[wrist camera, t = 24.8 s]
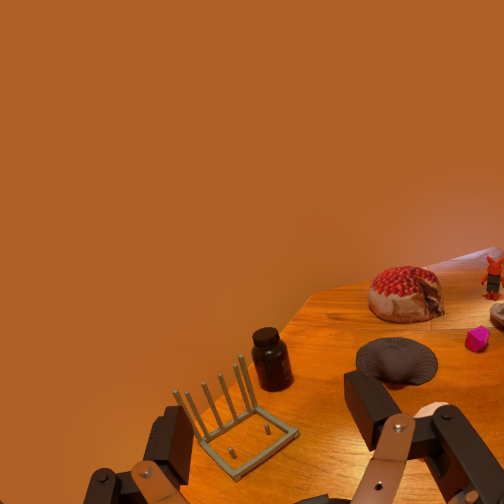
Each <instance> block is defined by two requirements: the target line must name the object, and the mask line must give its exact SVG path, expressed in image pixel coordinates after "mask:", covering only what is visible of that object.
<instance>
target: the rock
mask: <svg viewBox="0 0 504 504" xmlns="http://www.w3.org/2000/svg"><path fill="white" fill-rule="evenodd" d="M490 314H491V316H492V317H493V318H494V319H496V320H497V321H498V323H499V324H501V325H503V326H504V303H503V304H501V303H497V304H494V305H493V306H492V307H491V309H490Z"/></svg>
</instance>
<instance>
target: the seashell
mask: <svg viewBox="0 0 504 504" xmlns="http://www.w3.org/2000/svg"><path fill="white" fill-rule="evenodd" d="M356 366H357V369H359V370H360V371H361V372H362V374H363V375H364V376H365V377H368V376H373V377H375V378H377V379H378V380H380V381H387V382H391V383H394V384H397V383H400V384H407V385H420V384H423V383H425V382H427V381H429V380H431V379H432V378H433V377H434V375H435V374H436V372H437V369H438V362H437V358H436V356H435V354H434V353H433V352H432V351H431V350H430V349H429V348H428V347H426V346H425V345H422V344H420V343H418V342H416V341H413V340H411V339H407V338H401V337H400V338H399V337H396V338H395V337H392V338H390V337H389V338H381V339H376V340H374V341H371V342H369V343H367V344H366V345H364V346H363V347H361V348H360V349H359V350H358V352H357V357H356Z"/></svg>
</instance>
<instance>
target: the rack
mask: <svg viewBox="0 0 504 504" xmlns="http://www.w3.org/2000/svg"><path fill="white" fill-rule="evenodd" d="M238 359H239V362H240V366H241V369H242V373H243V376H244V379H245V383H246V386H247V389H248V393H249V396H250V399H251V403H252V406H253V407H251V408H250V405H249V401H248V398H247V395H246V392H245V389H244V385H243V382H242V379H241V376H240V372H239V369H238V366H237V364H234V365H233V368H234V371H235V374H236V377H237V380H238V384H239V387H240V390H241V393H242V396H243V399H244V402H245V405H246V408H247V411H245V412H244V413H242V414H241V415H239V416H238V417H237V415H236V412H235V409H234V407H233V404H232V401H231V399H230V396H229V393H228V390H227V387H226V385H225V382H224V379H223V376H222V374H221V373H219V374H218V378H219V381H220V384H221V386H222V389H223V391H224V395H225V397H226V400H227V403H228V405H229V408H230V410H231V413H232V416H233V418H234V419H233V420H231V421H230V422H228V423H226V424H225V425H223V424H222V421H221V419H220V417H219V414H218V412H217V410H216V407H215V405H214V402H213V400H212V398H211V395H210V393H209V390H208V388H207V385H206V383H205V382H202V383H201V384H202V387H203V390H204V392H205V395H206V397H207V399H208V402H209V404H210V406H211V409H212V411H213V413H214V416H215V418H216V420H217V422H218V425H219V427H220V428H218V429H217V430H215V431H213V432H211V433H210V434H209V433H208V431H207V429H206V427H205V425H204V423H203V421H202V419H201V417H200V415H199V413H198V411H197V409H196V406H195V404H194V402H193V400H192V398H191V396H190V393H189V391H185V396H186V398H187V400H188V402H189V404H190V406H191V408H192V410H193V412H194V414H195V416H196V419H197V421H198V423H199V425H200V427H201V428H202V430H203V432H204V434H205V437H203V438H202V437H201V435H200V434H199V432H198V430H197V428H196V426H195V424H194V422H193V420H192V418H191V416H190V414H189V412H188V411H187V408H186V406H185V404H184V402H183V400H182V398H181V396H180V394H179V392H178V390H176V389H175V390H173V391H172V393H173V395H174V397H175V399H176V401H177V403H178V405H179V406H182V407H183V408H184V410H185V412H186V414H187V416H188V418H189V420H190V422H191V424H192V427H193V431H194V435H195V437H196V439H197V442H198V444H199V445H200V446H201V447H202V448H203V449H204V450H205V451H206V452H207V453H208V455H209V456H210V457H211V458H212V459H213V460H214V461H215V462H216V463H217V464H218V465H219V466H220V467H221V468H222V469H223V470H224V471H225V472H226V473H227V474H228V475H229V476H230V477H231V478H232V479H233V480H235V481H236V482H237V481H239V480H241V477H240V476H242V475H243V474H245V473H247V472H248V471H249V470H251V469H252V468H254V467H255V466H257V465H258V464H260V463H261V462H262V461H264V460H265V459H267V458H268V457H269V456H271V455H272V454H273V453H275V452H276V451H277V450H279V449H280V448H281V447H283V446H284V445H285V444H286V443H288V442H289V441H290V440H291V439H293V438H298V437H299V436H300V432H299V429H298V428H296V427H295V428H292V427H291V426H289V425H287V424H286V423H284V422H282V421H281V420H279V419H278V418H276V417H275V416H273V415H271V414H270V413H268V412H267V411H265V410H264V409H262V408H261V407H259V406H258V405H257V402H256V398H255V395H254V391H253V388H252V384H251V381H250V377H249V374H248V370H247V367H246V363H245V360H244V356H243V354H240V355H238ZM255 412H256V413H257V414H259V415H260V416H262V417H263V418H265V419H266V420H268V421H269V422H271V423H272V424H274V425H275V426H277V427H278V428H280V429H281V430H283V431H284V432H286V433H287V434H286V435H285V436H283V437H282V438H281V439H279V440H278V441H277V442H275V443H274V444H273V445H271V446H270V447H269V448H267V449H266V450H265V451H263V452H262V453H260V454H259V455H258V456H256V457H255V458H253V459H252V460H250V461H249V462H247V463H246V464H244V465H243V466H241V467H240V468H238V469H237V470H235V471H234V470H233V469H232V468H231V467H230V466H229V465H228V464H227V463H226V462H225V461H224V460H223V459H222V458H221V457H220V456H219V455H218V454H217V453H216V452H215V451H214V450H213V449H212V448H211V447H210V446H209V445H208V444H207V443H208V442H209V441H211V440H213V439H214V438H216V437H218V436H219V435H221V434H223V433H224V432H226V431H228V430H229V429H231V428H232V427H234V426H236V425H237V424H239V423H240V422H242V421H243V420H245V419H246V418H248V417H249V416H251V415H252V414H254V413H255ZM264 427H265V430H266V433H267V434H268V435H269V434H270V433H271V432H270V428H269V425H268V423H265V424H264ZM228 450H229V452H230V454H231V456H232V458H236V454H235V452H234V450H233V448H232V447H229V448H228Z"/></svg>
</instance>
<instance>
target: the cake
mask: <svg viewBox="0 0 504 504" xmlns="http://www.w3.org/2000/svg"><path fill="white" fill-rule="evenodd" d="M368 301H369V304H370V307H371V309H372V310H373V311H374V313H375V314H376V316H377V317H379V318H380V319H382V320H386V321H389V322H397V323H413V322H421V321H425V320H429V319H431V318H435V317H437V316H439V315H440V314H441V313H442V311H443V296H442V292H441V286H440V283H439V281H438V279H437V277H436V276H435V274H434V273H433V272H431V271H427V270H424V269H422V268H419V267H410V266H407V267H398V268H397V267H396V268H390V269H388V270H385V271H384V272H382V273H380V274H378V275H377V276H376V277H375V279H374V280H373V281H372V282H371V285H370V290H369V294H368ZM444 314H445V311H443V316H444ZM447 314H448V313H447ZM417 320H420V321H417Z"/></svg>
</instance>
